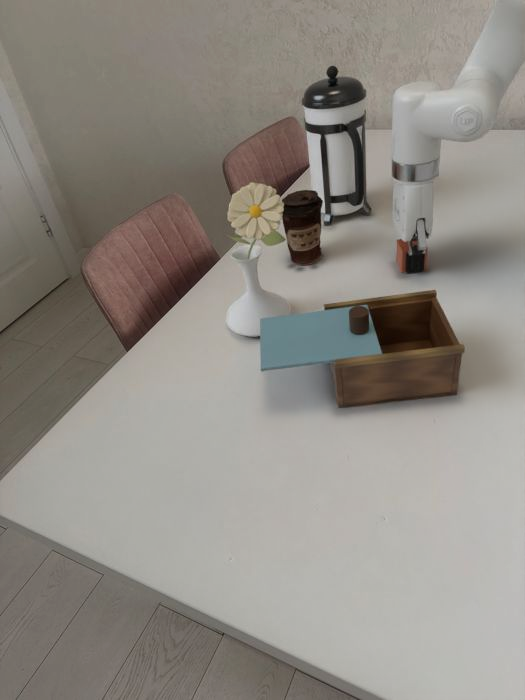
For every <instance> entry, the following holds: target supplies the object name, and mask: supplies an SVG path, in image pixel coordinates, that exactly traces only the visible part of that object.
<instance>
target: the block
mask: <svg viewBox="0 0 525 700" xmlns="http://www.w3.org/2000/svg"><path fill="white" fill-rule="evenodd" d="M416 244H417V241H412V247H413V246H414V245H416ZM428 252H429V247H428V246H427V249H425V261H424V271H425V270H427V267H428ZM406 253H408V241H407V242H404V241H402V240H401V238H399V239H396V256H395V259H396V263H397V266H398V268H399V270H400V273H401V274H403V273H405V274H406Z"/></svg>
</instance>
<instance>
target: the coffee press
mask: <svg viewBox="0 0 525 700" xmlns="http://www.w3.org/2000/svg"><path fill="white" fill-rule="evenodd" d="M325 74H326V76H327V78H323V79H320V80H317V81H315V82H313V83H312V84H310V85H309V86H308V87H307V88H306V90H305V91H304V94H303V97H302V98H301V105H302V107H303V108H304V109H303V110H304V121H303V122H304V129H305V131H306V142H307V149H308V150H307V153H308V163H309V174H310V175H309V176H310V185H311V190H313V191H316V192H317V193H318V196H319V197H320V198H321V199H322V201H323V203H322V208H321V214H323V215H324V218H323V225H325V226H332V223H333V220H334V217H335V216H343V215H348V214H349V215H350V214H352V213H355V212H357V211H360V212H361V213H362V214H364V216H369V215H370V214H371V213H372V212H373V208H372V207H371V206H370V204H369V202H368V199H367V198H368V197H367V196H368V195H367V153H366V152H367V149H366V148H367V147H366V121H367V110H366V107H365V105H366V104H365V103H366V102H365V101H366V99H367V98H366V97H367V89H366V88H364V85H363V83H362V82H361V81H360V80H359V79H358V78H355V77H352V76H351V77H350V76H338V74H339V70H338V67H337V66H336V65H330V66H329V67H327V69H326V72H325ZM364 206H365V208H366V209H367V210H368V211H367V210H366V209H365V208H364Z"/></svg>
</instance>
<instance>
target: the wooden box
mask: <svg viewBox="0 0 525 700" xmlns="http://www.w3.org/2000/svg"><path fill="white" fill-rule="evenodd" d="M437 295H438V294H437V290H436V289H430V290H422V291H414V292H407V293H406V292H405V293H399V294H392V295H391V294H390V295H384V296H378V297H369V298H362V299H354V300H347V301H339V302H332V303H326V304H325V303H324V304H323V310H330V309H337V308H345V307H353V306H360V305H367V306H368V309H369V312H370V316H371V319H372V322H373V325H374V329H375V332H376V335H377V338H378V342H379V345H380V348H381V351H382V354H379V355H370V356H362V357H354V358H346V359H338V360H334V362H333V363H329V364H330V369H331V375H332V380H333V386H334V392H335V398H336V403H337V408H338V409H342V408H343V409H344V408H352V407H361V406H368V405H378V404H385V403H386V404H387V403H395V402H403V401H413V400H421V399H422V400H423V399H431V398H439V397H446V396H455V395H458V387H459V381H460V374H461V366H462V358H463V354H464V353H465V352H466V347H465V344H463V343H460V341H459V339H458V338H457V335H456V334H455V331H454V330H453V327H452V326H451V324H450V321H449V320H448V318H447V315H446V314H445V312H444V310H443V307H442V305H441V304H440V302H439V300H438V298H437Z"/></svg>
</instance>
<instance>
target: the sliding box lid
mask: <svg viewBox="0 0 525 700" xmlns="http://www.w3.org/2000/svg"><path fill="white" fill-rule="evenodd" d="M259 340H260V341H259V344H260V345H259V346H260V347H259V349H260V371H261V372H267V371H275V370H283V369H291V368H298V367H307V366H308V367H309V366H315V365H322V364H323V365H324V364H330V363H333V362H334V360H338V359H346V358H354V357H362V356H370V355H379V354H382V351H381V348H380V345H379V342H378V338H377V335H376V332H375V329H374V325H373V322H372V319H371V316H370V312H369V309H368V306H367V305H360V306H353V307H345V308H337V309H330V310H324V309H323V310H316V311H308V312H301V313H294V314H293V313H291V315H284V316H277V317H269V318H261V319H260V336H259Z"/></svg>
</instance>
